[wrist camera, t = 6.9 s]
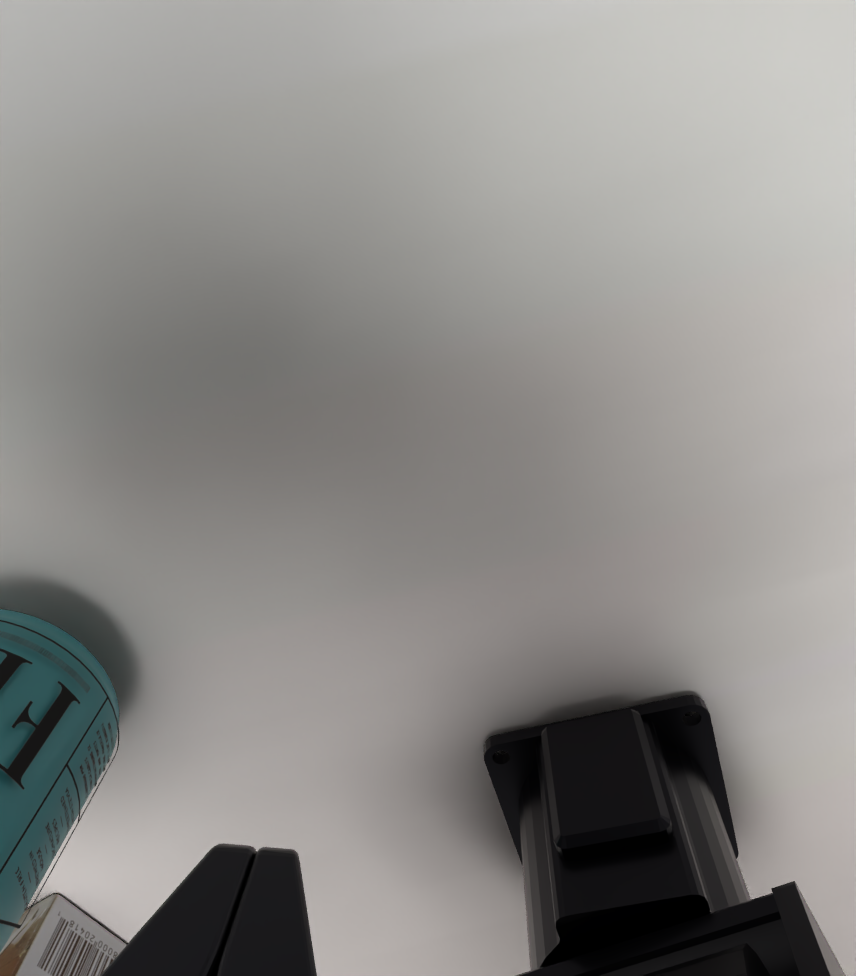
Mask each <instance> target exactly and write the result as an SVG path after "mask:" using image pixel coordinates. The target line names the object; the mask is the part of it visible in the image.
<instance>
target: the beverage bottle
mask: <svg viewBox="0 0 856 976" xmlns="http://www.w3.org/2000/svg"><path fill="white" fill-rule="evenodd" d="M118 724H119V706H118V700H117V696H116V693H115V690H114V687H113V685H112V683H111V681H110V678H109V677H108V675H107V673H106V672H105V670H104V668H103V667H102V666H101V664H100V663H99V662H98V661H97V659H96V658H95V657H94V656H93V655H92V654H91V653H90V652H89V650H88V649H87V648H86V647H85V646H83V645H82V644H81V643H80V642H79V641H77V640H76V639H75V638H74V637H72V636H71V635H69V634H68V633H66V632H65V631H63V630H62V629H60V628H58V627H56V626H54V625H52V624H51V623H48V622H46V621H44V620H41V619H39V618H36V617H33V616H30V615H27V614H24V613H20V612H15V611H10V610H4V609H0V952H1V950H2V949H3V947H4V946H5V944H6V943H7V941H8V939H9V937H10V936H11V934H12V932H13V930H14V929H15V928H17V929H19V928H20V927H21V926H22V924H23V923H22V924H21V925H19V924H17V923H18V922H19V920H20V918H21V916H22V914H23V913H24V911H25V909H26V908H27V905H28V904H29V902H30V900H31V898H32V896H33V895H34V893H35V891H36V889H37V888H38V886H39V884H40V882H41V880H42V879H43V877H44V875H45V873H46V871H47V870H48V868H49V866H50V864H51V862H52V861H53V859H54V857H55V855H56V853H57V852H58V850H59V848H60V846H61V845H62V843H63V841H64V839H65V837H66V836H67V834H68V832H69V830H70V828H71V827H72V825H73V823H74V821H75V819H76V818H77V816H78V814H79V817H80V810H81V809H82V807H83V805H84V803H85V802H86V800H87V798H88V796H89V794H90V793H91V791H92V789H93V787H95V786H96V784H97V780H98V778H99V776H100V775H101V773H102V771H103V772H104V770H105V766H106V764H108V762H109V759H110V757H111V755H112V752H113V749H114V746H115V742H116V737H117V730H118V745H119V727H118ZM117 750H118V747H117ZM116 753H117V751H116ZM115 755H116V754H115ZM114 757H115V756H114ZM113 759H114V758H113ZM112 761H113V760H112ZM111 763H112V762H111ZM111 763H110V765H111ZM110 765H109V767H110ZM109 767H108V768H109ZM103 769H104V770H103ZM107 770H108V769H107ZM106 772H107V771H106ZM105 774H106V773H105ZM105 774H104V776H105ZM104 776H103V777H104ZM102 779H103V778H102ZM101 781H102V780H101ZM100 783H101V782H100ZM100 783H99V785H100ZM94 785H95V786H94ZM99 785H98V786H99ZM97 788H98V787H97ZM96 790H97V789H96ZM95 792H96V791H95ZM95 792H94V794H95ZM94 794H93V796H94ZM93 796H92V797H93ZM91 799H92V798H91ZM90 801H91V800H90ZM90 801H89V803H90ZM89 803H88V805H89ZM88 805H87V806H88ZM86 808H87V807H86ZM85 810H86V809H85ZM84 812H85V811H84ZM84 812H83V814H84ZM83 814H82V815H83ZM79 817H78V823H79V821H80V820H79ZM81 817H82V816H81ZM80 819H81V818H80ZM78 823H77V825H78ZM77 825H76V826H77ZM75 828H76V827H75ZM74 830H75V829H74ZM74 830H73V832H74ZM73 832H72V834H73ZM72 834H71V835H72ZM70 837H71V836H70ZM69 839H70V838H69ZM69 839H68V841H69ZM68 841H67V843H68ZM67 843H66V845H67ZM66 845H65V846H66ZM64 848H65V847H64ZM63 850H64V849H63ZM63 850H62V852H63ZM62 852H61V854H62ZM61 854H60V855H61ZM59 857H60V856H59ZM58 859H59V858H58ZM58 859H57V861H58ZM57 861H56V863H57ZM56 863H55V864H56ZM54 866H55V865H54ZM53 868H54V867H53ZM53 868H52V870H53ZM52 870H51V872H52ZM51 872H50V874H51ZM50 874H49V875H50ZM48 877H49V876H48ZM48 877H47V879H48ZM47 879H46V881H47ZM46 881H45V883H46ZM45 883H44V884H45ZM43 886H44V885H43ZM42 888H43V887H42ZM42 888H41V890H42ZM41 890H40V892H41ZM40 892H39V893H40ZM38 895H39V894H38ZM37 897H38V896H37ZM37 897H36V899H37ZM36 899H35V901H36ZM35 901H34V903H35ZM34 903H33V904H34ZM32 906H33V905H32ZM32 906H31V908H32ZM31 908H30V910H31ZM30 910H29V912H30ZM29 912H28V913H29ZM27 915H28V914H27ZM27 915H26V917H27ZM26 917H25V919H26ZM25 919H24V921H25ZM24 921H23V922H24Z"/></svg>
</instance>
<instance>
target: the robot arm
mask: <svg viewBox="0 0 856 976" xmlns="http://www.w3.org/2000/svg"><path fill="white" fill-rule="evenodd" d="M688 712H696V713H695V714H694V715H691V716H684V715H685V714H686V713H688ZM497 751H505V752H507V753H505V754H497V753H495V752H497ZM484 761H485V764H486V766H487V769H488V772H489V775H490V777H491V780H492V783H493V786H494V788H495V791H496V794H497V797H498V799H499V802H500V805H501V808H502V810H503V813H504V816H505V819H506V821H507V824H508V827H509V830H510V832H511V835H512V838H513V841H514V843H515V846H516V849H517V852H518V855H519V857H520V860H521V863H522V866H523V876H524V889H525V902H526V916H527V929H528V942H529V955H530V968H531V971H528V972H525V973H522V974H519V975H516V976H845V974H844V972H843V970H842V968H841V966H840V964H839V963H838V961H837V959H836V957H835V955H834V953H833V951H832V950H831V948H830V946H829V944H828V942H827V940H826V938H825V937H824V935H823V933H822V931H821V929H820V927H819V925H818V924H817V922H816V920H815V918H814V916H813V914H812V912H811V911H810V909H809V907H808V905H807V903H806V901H805V899H804V898H803V896H802V894H801V892H800V890H799V888H798V886H797V884H796V883H795V881H793V882H790V883H787V884H784V885H781V886H778V887H775V888H772V892H773V893H771V894H768V895H765V896H762V897H759V898H756V899H753V900H751V899H750V896H749V893H748V890H747V888H746V885H745V882H744V879H743V876H742V874H741V871H740V868H739V865H738V863H737V860H736V859H737V857H738V848H737V843H736V838H735V833H734V828H733V823H732V819H731V814H730V809H729V804H728V799H727V795H726V790H725V785H724V780H723V775H722V771H721V766H720V761H719V756H718V751H717V747H716V742H715V737H714V732H713V727H712V723H711V718H710V714H709V711H708V709H707V707H706V704H705V702H704V700H702V699H701V698H700V697H697V696H693V695H687V696H681V697H676V698H671V699H667V700H662V701H657V702H652V703H647V704H643V705H638V706H633V707H628V708H623V709H619V710H614V711H609V712H604V713H599V714H595V715H590V716H585V717H580V718H575V719H571V720H566V721H561V722H556V723H551V724H547V725H542V726H537V727H532V728H527V729H522V730H518V731H513V732H508V733H503V734H498V735H495V736H492V737H490V738H489V739H488V740H487V741H486V742H485V744H484ZM100 976H317V974H316V968H315V961H314V954H313V948H312V941H311V934H310V927H309V921H308V914H307V907H306V901H305V894H304V887H303V881H302V874H301V867H300V861H299V856H298V853H297V852H296V851H295V850H293V849H283V848H271V847H263V848H260V849H259V850H258V851H257V852H256V849H255V848H254V847H251V846H246V845H234V844H218V845H216V846H214V847H213V848H212V849H211V850H210V851H209V852H208V853H207V854H206V855H205V857H204V858H203V859H202V860H201V861H200V862H199V863H198V864H197V866H196V867H195V868H194V869H193V870H192V871H191V872H190V874H189V875H188V876H187V877H186V878H185V879H184V880H183V882H182V883H181V884H180V885H179V886H178V887H177V888H176V890H175V891H174V892H173V893H172V894H171V895H170V896H169V898H168V899H167V900H166V901H165V902H164V903H163V904H162V905H161V907H160V908H159V909H158V910H157V911H156V912H155V913H154V915H153V916H152V917H151V918H150V919H149V920H148V921H147V923H146V924H145V925H144V926H143V927H142V928H141V929H140V931H139V932H138V933H137V934H136V935H135V936H134V937H133V939H132V940H131V941H130V942H129V943H128V944H127V945H126V946H125V948H124V949H123V950H122V951H121V952H120V953H119V954H118V956H117V957H116V958H115V959H114V960H113V961H112V962H111V964H110V965H109V966H108V967H107V968H106V969H105V970H104V972H103V973H102V974H101V975H100Z"/></svg>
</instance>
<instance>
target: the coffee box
mask: <svg viewBox="0 0 856 976" xmlns="http://www.w3.org/2000/svg"><path fill="white" fill-rule="evenodd" d="M29 910H30V908H29V909H28V910H26V911H24V913H23V914H22V916H21V918H20V920H19V922H18V923H17V924H19V925H21V924H22V923H23V924H22V926H21V927H20V928H19V929H17V928H15V929H14V930H13V932H12V934H11V936H10V937H9V939H8V941H7V943H6V944H5V946H4V947H3V949H2V950H1V952H0V976H100V975H101V974H102V973H103V972H104V970H105V969H106V968H107V967H108V966H109V965H110V964H111V962H112V961H113V960H114V959H115V958H116V957H117V956H118V954H119V953H120V952H121V951H122V950H123V949H124V948H125V946H126V945H127V944H125V943H124V942H123V941H121V940H120V939H118V938H117V937H116V936H114V935H113V934H111V933H110V932H109V931H107V930H106V929H105V928H103V927H102V926H101V925H99V924H98V923H97V922H95V921H94V920H93V919H91V918H90V917H88V916H87V915H86V914H84V913H83V912H82V911H80V910H79V909H78V908H76V907H75V906H74V905H73V904H71V903H70V902H69V901H67V900H66V899H65V898H63V897H62V896H60V895H58V894H54V895H51V896H50V897H48V898H46V899H44V900H42V901H41V902H39V903H38V904H36V905H34V906H33V907H32V908H31V910H30V912H29ZM28 912H29V913H28ZM27 914H28V915H27ZM26 915H27V917H26ZM25 917H26V919H25ZM24 919H25V921H24ZM23 921H24V922H23Z"/></svg>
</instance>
